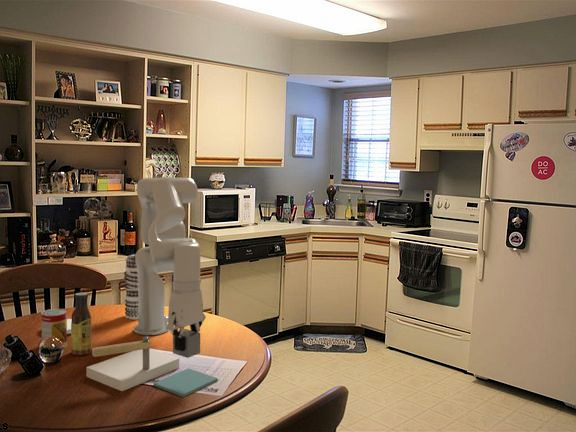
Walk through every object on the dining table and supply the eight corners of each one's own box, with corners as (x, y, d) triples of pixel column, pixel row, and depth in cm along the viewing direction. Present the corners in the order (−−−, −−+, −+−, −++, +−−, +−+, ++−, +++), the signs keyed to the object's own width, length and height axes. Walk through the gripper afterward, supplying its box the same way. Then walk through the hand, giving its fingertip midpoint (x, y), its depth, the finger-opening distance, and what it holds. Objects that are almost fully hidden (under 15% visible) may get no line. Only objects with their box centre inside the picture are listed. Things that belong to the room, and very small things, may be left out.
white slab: (144, 355, 185) (144, 327, 184) (179, 367, 176) (179, 338, 175) (86, 376, 167) (86, 345, 166) (122, 391, 158) (121, 358, 157)
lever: (92, 354, 159) (92, 343, 159) (148, 346, 167) (148, 335, 167) (93, 356, 157) (93, 345, 157) (150, 348, 165) (150, 337, 165)
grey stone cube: (185, 348, 167) (185, 328, 166) (200, 353, 163) (200, 333, 163) (172, 353, 163) (172, 333, 162) (187, 357, 159) (187, 337, 159)
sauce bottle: (84, 357, 182) (83, 297, 180) (67, 355, 183) (66, 295, 181) (95, 350, 188) (94, 292, 186) (78, 348, 190) (77, 290, 187)
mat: (188, 370, 173) (188, 368, 173) (217, 380, 167) (217, 378, 167) (153, 385, 162) (153, 383, 162) (183, 397, 155) (183, 394, 155)
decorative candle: (152, 315, 229) (152, 254, 226) (137, 321, 221) (137, 258, 218) (134, 311, 233) (134, 252, 230) (119, 317, 225) (118, 255, 222)
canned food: (72, 344, 193) (71, 310, 192) (55, 351, 186) (55, 316, 185) (53, 341, 196) (53, 307, 195) (36, 348, 189) (35, 313, 187)
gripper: (198, 278, 170) (197, 337, 172) (155, 289, 156) (155, 352, 158) (216, 282, 166) (216, 342, 168) (174, 293, 152) (174, 358, 154)
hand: (186, 346), depth 163 cm, fingers closed on grey stone cube, 5 cm apart
